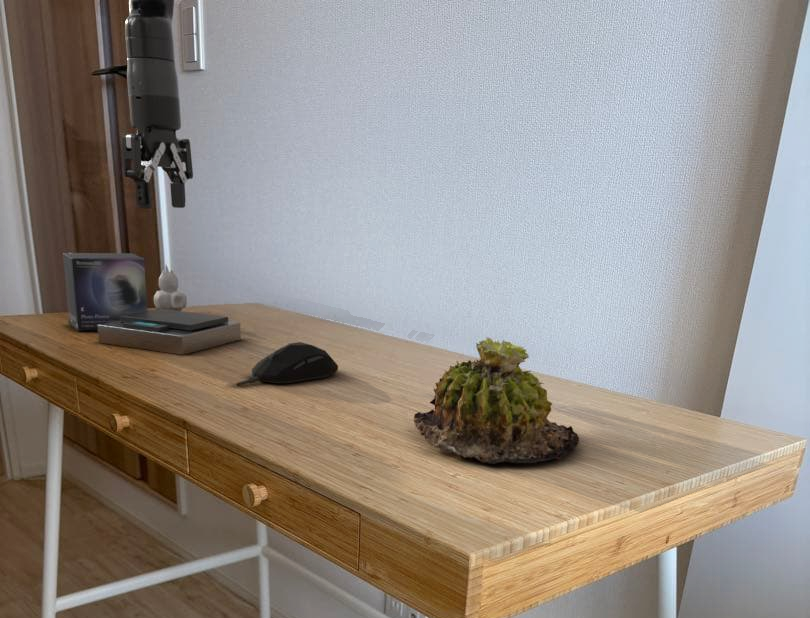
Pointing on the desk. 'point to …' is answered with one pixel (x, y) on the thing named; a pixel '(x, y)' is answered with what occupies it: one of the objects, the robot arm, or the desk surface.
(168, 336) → the scale
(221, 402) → the desk surface
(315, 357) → the gaming mouse
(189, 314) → the scale pan
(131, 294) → the small box
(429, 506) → the desk surface
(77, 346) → the desk surface
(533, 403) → the cactus
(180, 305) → the beige lumpy figurine
